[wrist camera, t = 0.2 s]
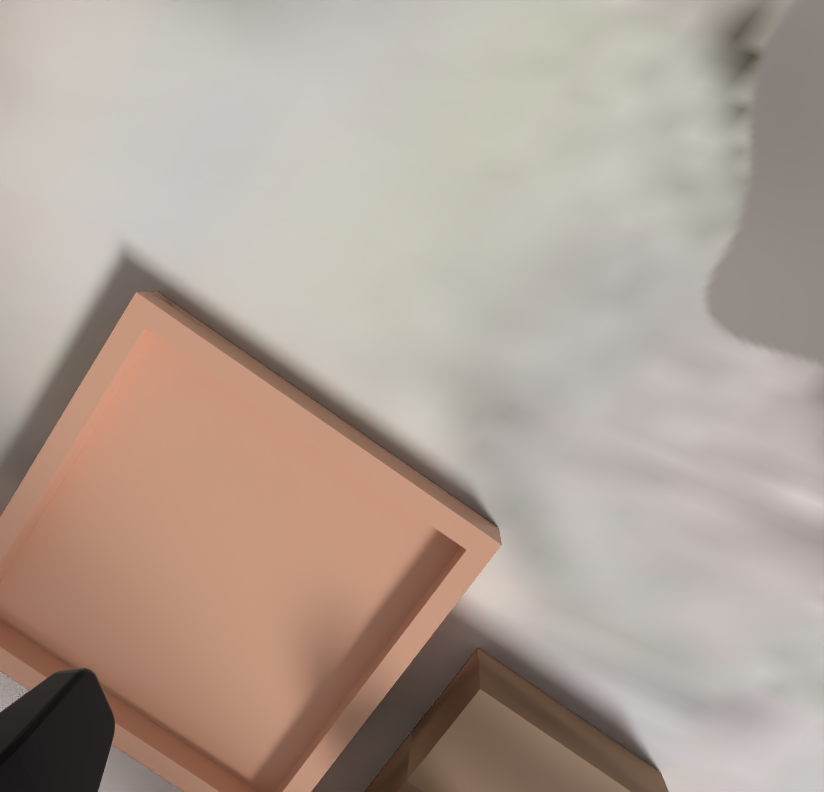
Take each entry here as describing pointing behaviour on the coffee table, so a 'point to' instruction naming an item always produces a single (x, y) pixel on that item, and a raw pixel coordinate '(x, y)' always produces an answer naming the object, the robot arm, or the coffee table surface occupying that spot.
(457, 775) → the clamp block
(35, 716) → the robot arm
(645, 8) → the coffee table surface
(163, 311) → the terracotta dish
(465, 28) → the coffee table surface
